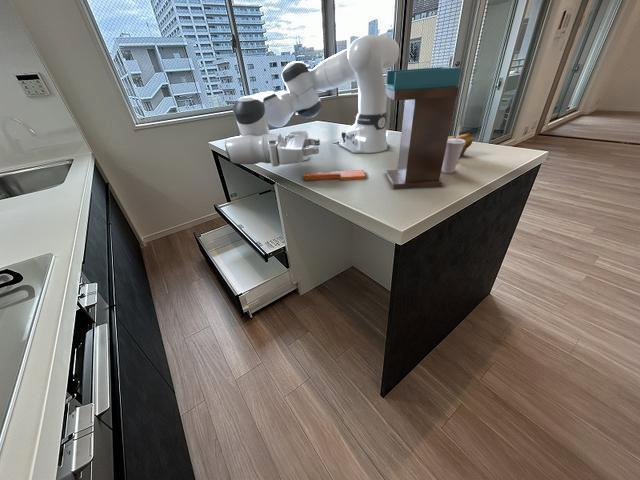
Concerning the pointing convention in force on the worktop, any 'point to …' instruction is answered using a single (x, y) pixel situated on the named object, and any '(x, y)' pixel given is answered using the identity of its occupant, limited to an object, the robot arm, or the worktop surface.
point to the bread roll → (467, 138)
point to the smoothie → (452, 153)
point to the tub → (423, 78)
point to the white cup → (299, 134)
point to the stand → (422, 136)
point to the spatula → (336, 175)
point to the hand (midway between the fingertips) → (319, 146)
